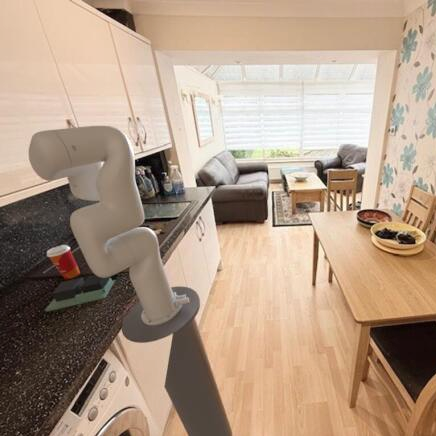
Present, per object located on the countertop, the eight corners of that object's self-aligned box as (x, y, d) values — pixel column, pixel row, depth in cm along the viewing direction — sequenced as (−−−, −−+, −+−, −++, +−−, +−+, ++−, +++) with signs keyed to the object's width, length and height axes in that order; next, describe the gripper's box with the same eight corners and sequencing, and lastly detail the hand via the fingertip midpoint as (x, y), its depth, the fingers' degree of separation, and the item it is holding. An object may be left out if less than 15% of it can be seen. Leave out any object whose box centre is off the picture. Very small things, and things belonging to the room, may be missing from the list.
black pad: (109, 280, 100) (105, 273, 98) (103, 291, 94) (99, 283, 93) (91, 284, 98) (87, 277, 97) (84, 295, 93) (80, 287, 91)
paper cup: (61, 275, 107) (45, 249, 101) (82, 267, 112) (68, 242, 106) (61, 283, 102) (44, 256, 96) (83, 275, 106) (69, 248, 100)
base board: (117, 276, 104) (112, 267, 102) (105, 298, 92) (100, 288, 90) (65, 287, 99) (60, 277, 97) (46, 312, 87) (39, 301, 85)
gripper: (68, 248, 84) (90, 288, 92) (116, 240, 88) (133, 279, 96) (79, 238, 91) (98, 276, 99) (123, 231, 94) (138, 268, 102)
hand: (115, 278), depth 97 cm, fingers closed
